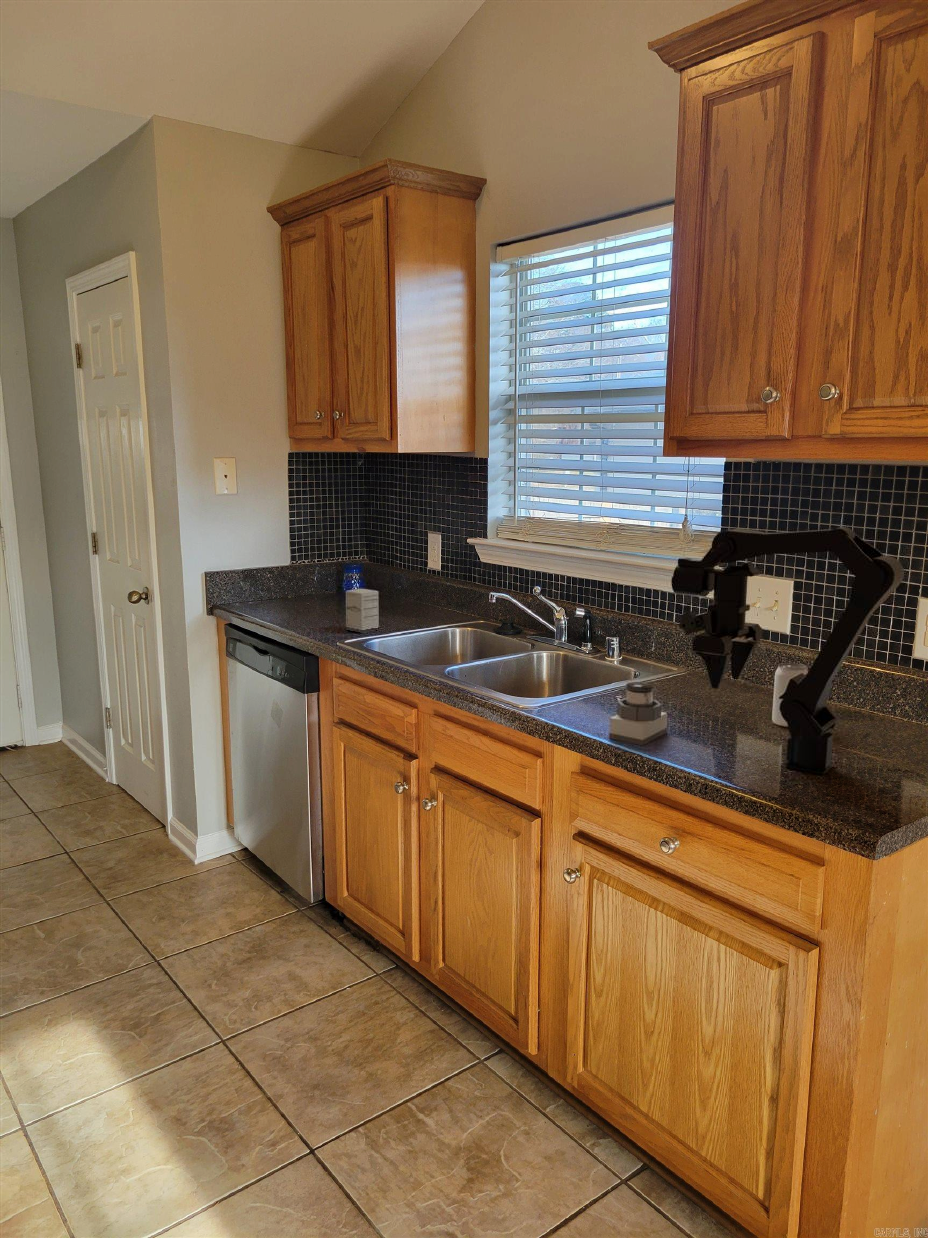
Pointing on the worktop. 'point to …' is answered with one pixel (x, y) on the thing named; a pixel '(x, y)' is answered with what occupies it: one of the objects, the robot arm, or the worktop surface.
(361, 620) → the beige wooden tall block
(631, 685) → the lens
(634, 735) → the octagonal ring tray
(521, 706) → the worktop surface
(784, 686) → the can
